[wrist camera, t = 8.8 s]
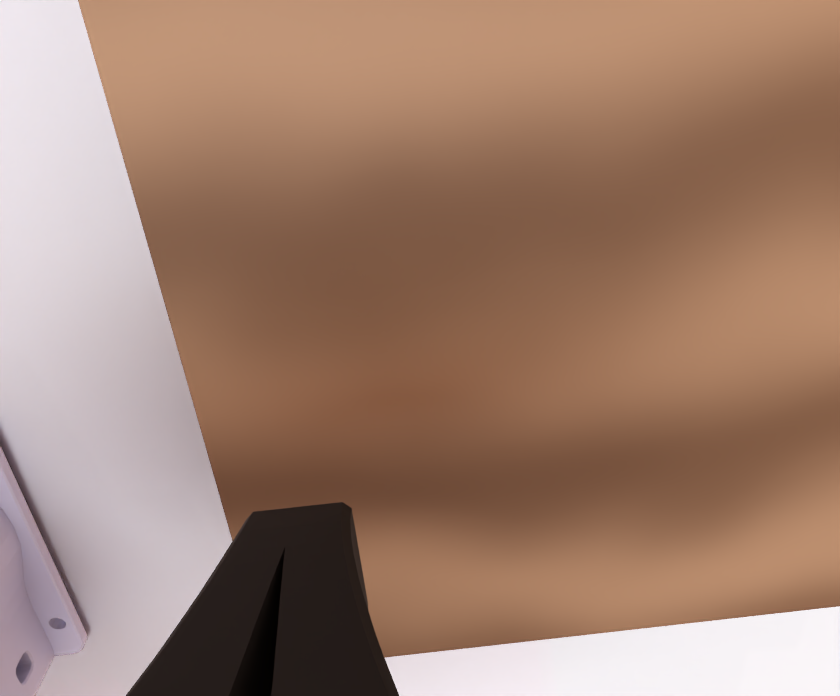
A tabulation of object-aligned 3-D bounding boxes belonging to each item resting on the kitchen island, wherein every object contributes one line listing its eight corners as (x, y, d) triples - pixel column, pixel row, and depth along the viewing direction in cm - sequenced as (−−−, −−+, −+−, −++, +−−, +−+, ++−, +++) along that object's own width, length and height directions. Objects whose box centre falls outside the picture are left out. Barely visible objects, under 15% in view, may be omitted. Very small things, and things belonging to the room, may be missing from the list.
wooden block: (772, 508, 22) (849, 605, 18) (286, 561, 22) (269, 670, 18) (1003, -629, 11) (1306, -932, 7) (19, -547, 11) (-157, -822, 7)
